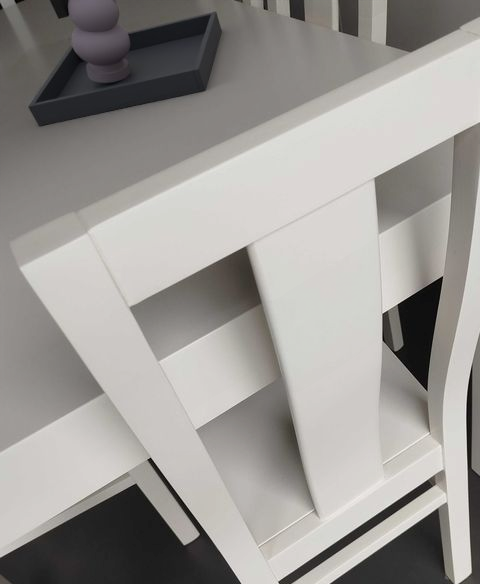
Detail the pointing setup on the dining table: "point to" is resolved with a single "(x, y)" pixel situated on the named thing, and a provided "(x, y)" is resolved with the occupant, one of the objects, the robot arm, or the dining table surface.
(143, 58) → the tray
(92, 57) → the cat figurine
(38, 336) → the dining table surface
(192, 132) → the dining table surface
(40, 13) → the dining table surface
